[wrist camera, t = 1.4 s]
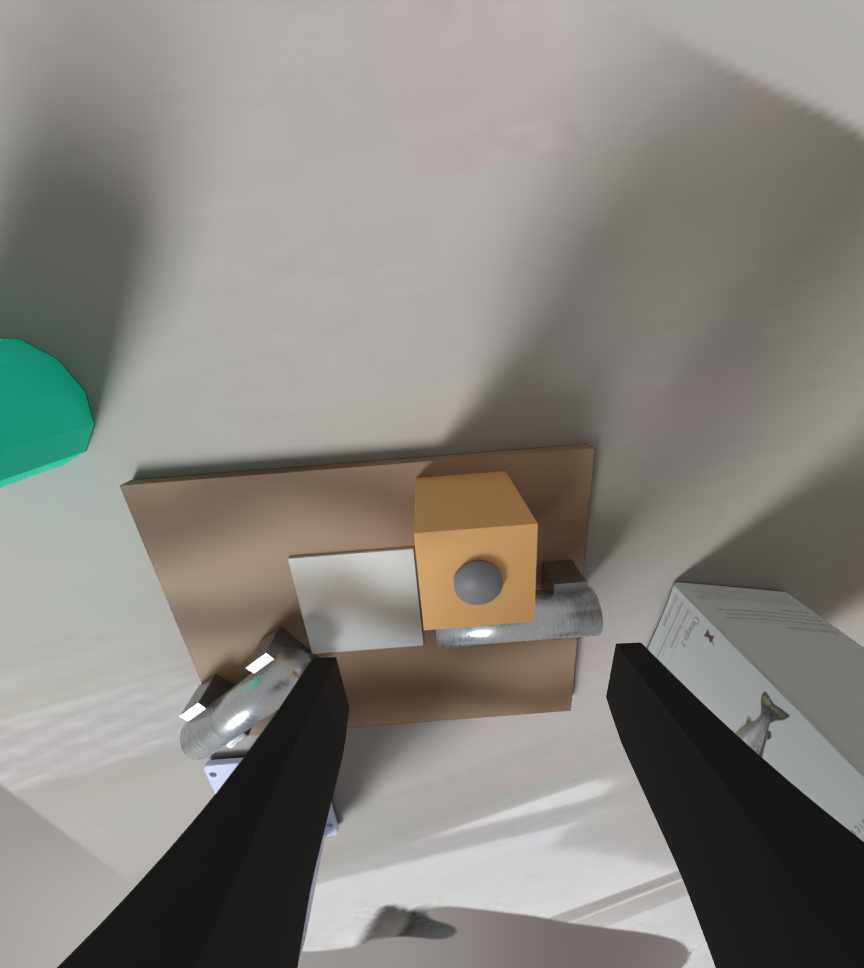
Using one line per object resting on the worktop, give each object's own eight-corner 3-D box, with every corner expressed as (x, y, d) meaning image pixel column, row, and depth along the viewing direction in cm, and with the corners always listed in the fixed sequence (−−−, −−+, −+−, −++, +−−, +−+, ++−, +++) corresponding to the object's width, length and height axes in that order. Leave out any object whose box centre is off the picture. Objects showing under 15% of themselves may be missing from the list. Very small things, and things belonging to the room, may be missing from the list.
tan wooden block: (505, 548, 20) (536, 627, 15) (423, 554, 20) (424, 635, 15) (505, 470, 18) (540, 527, 13) (415, 478, 18) (413, 537, 13)
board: (566, 699, 25) (571, 712, 25) (229, 725, 26) (222, 739, 25) (587, 444, 19) (595, 449, 18) (131, 479, 19) (117, 486, 18)
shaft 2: (579, 558, 20) (606, 597, 17) (574, 611, 22) (599, 655, 19) (432, 570, 20) (433, 610, 17) (436, 622, 22) (439, 667, 19)
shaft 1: (284, 622, 21) (262, 668, 18) (329, 657, 22) (315, 707, 20) (195, 688, 23) (161, 740, 20) (240, 719, 24) (215, 773, 21)
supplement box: (670, 578, 22) (955, 857, 10) (787, 589, 23) (1185, 866, 11) (630, 671, 25) (819, 976, 13) (735, 679, 25) (1009, 979, 13)
